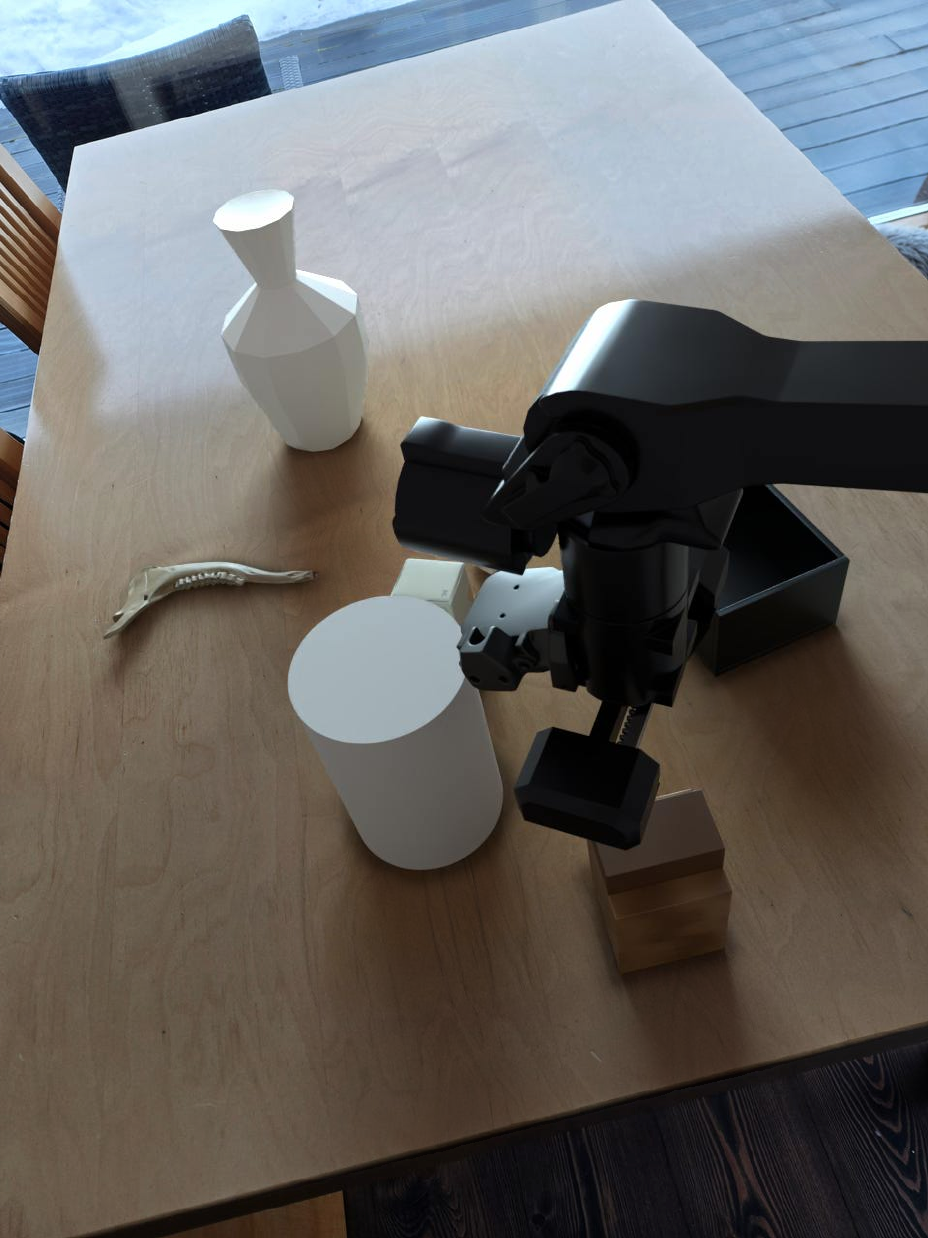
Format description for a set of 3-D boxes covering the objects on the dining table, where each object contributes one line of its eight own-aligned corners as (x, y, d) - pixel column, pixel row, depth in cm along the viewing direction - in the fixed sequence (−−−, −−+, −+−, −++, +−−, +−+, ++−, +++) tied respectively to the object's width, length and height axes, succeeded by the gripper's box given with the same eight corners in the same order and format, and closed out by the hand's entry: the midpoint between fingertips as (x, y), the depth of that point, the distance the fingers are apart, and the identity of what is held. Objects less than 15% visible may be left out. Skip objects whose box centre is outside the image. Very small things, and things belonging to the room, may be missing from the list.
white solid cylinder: (518, 745, 73) (487, 604, 60) (482, 882, 66) (439, 756, 53) (381, 726, 76) (325, 588, 64) (333, 855, 70) (259, 729, 57)
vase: (319, 487, 97) (237, 266, 78) (240, 438, 105) (149, 226, 86) (415, 414, 103) (361, 191, 84) (334, 373, 110) (267, 160, 92)
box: (489, 650, 80) (469, 561, 71) (476, 691, 77) (453, 604, 69) (431, 643, 81) (405, 555, 73) (416, 682, 79) (388, 596, 70)
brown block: (699, 809, 57) (701, 788, 56) (723, 867, 55) (725, 848, 53) (589, 835, 57) (587, 816, 56) (608, 896, 55) (606, 877, 53)
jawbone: (110, 590, 93) (101, 575, 91) (307, 528, 95) (301, 512, 93) (111, 651, 86) (101, 635, 85) (322, 583, 88) (316, 567, 87)
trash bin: (836, 624, 76) (850, 559, 70) (715, 677, 74) (719, 616, 69) (696, 475, 89) (699, 412, 84) (592, 518, 88) (587, 456, 82)
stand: (688, 852, 65) (691, 788, 58) (724, 949, 61) (732, 891, 54) (591, 876, 65) (583, 814, 58) (620, 974, 61) (615, 920, 54)
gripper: (532, 427, 51) (557, 611, 63) (385, 695, 41) (447, 855, 53) (738, 455, 47) (724, 646, 59) (632, 760, 37) (640, 918, 48)
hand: (634, 755), depth 55 cm, fingers open, 9 cm apart
